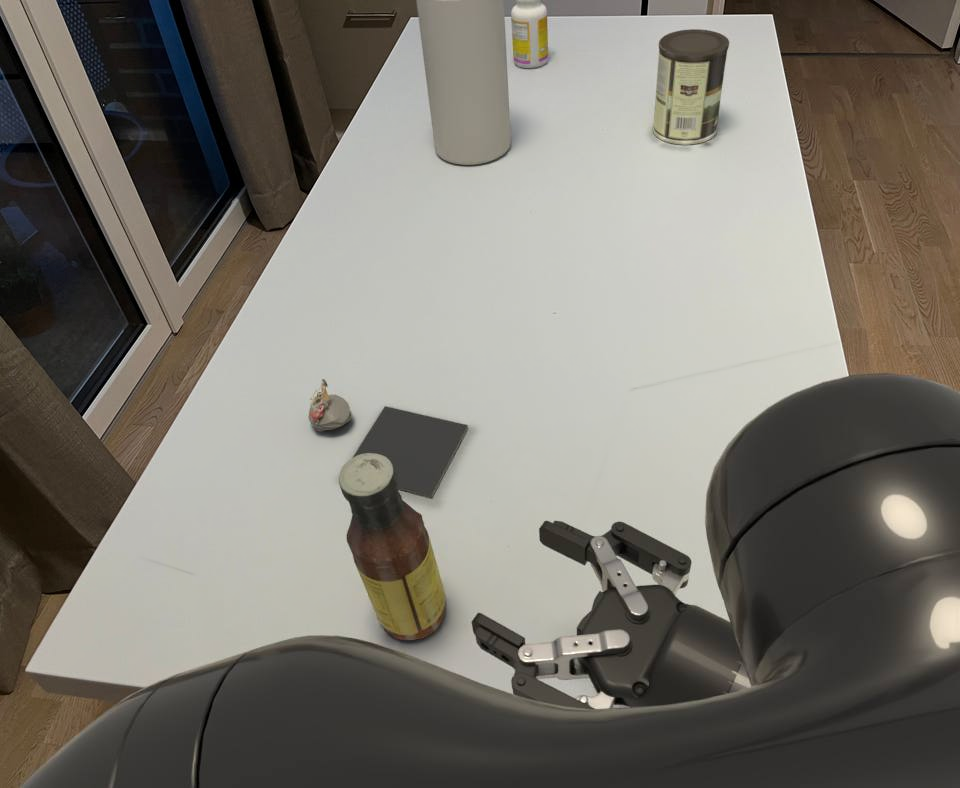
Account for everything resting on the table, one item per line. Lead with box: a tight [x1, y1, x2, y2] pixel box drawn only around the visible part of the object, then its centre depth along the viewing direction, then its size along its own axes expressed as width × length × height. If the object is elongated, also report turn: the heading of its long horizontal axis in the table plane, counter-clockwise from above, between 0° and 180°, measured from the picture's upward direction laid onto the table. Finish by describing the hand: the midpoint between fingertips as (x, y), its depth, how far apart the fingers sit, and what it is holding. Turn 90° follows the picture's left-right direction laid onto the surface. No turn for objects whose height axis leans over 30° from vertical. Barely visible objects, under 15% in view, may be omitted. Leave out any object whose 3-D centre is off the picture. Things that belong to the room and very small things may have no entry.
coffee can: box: [652, 28, 730, 146], centre depth 124 cm, size 10×10×14 cm
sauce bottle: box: [338, 453, 447, 641], centre depth 63 cm, size 6×6×20 cm
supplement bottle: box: [510, 0, 549, 69], centre depth 148 cm, size 7×7×13 cm
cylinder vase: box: [415, 0, 512, 166], centre depth 121 cm, size 12×12×25 cm
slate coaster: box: [352, 405, 469, 499], centre depth 84 cm, size 10×10×1 cm
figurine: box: [308, 378, 353, 432], centre depth 86 cm, size 5×4×6 cm
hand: (509, 575), depth 55 cm, fingers open, 8 cm apart
